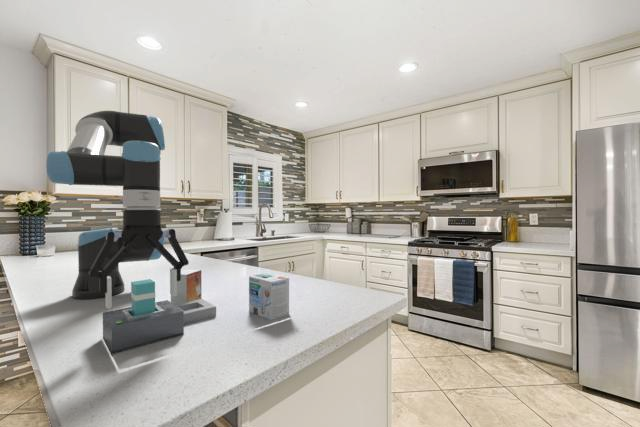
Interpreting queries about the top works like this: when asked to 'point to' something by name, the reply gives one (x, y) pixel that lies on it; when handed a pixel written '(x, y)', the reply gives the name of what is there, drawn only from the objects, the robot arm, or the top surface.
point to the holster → (197, 310)
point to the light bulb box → (269, 295)
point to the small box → (188, 287)
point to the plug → (142, 297)
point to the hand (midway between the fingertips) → (143, 300)
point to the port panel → (141, 326)
